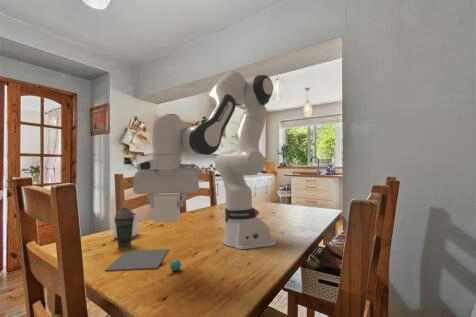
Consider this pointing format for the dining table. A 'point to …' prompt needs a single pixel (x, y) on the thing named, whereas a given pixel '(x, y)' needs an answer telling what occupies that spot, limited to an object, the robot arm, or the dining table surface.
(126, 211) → the beverage cup
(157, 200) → the white upright block
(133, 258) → the mat
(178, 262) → the marble
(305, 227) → the dining table surface
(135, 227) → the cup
